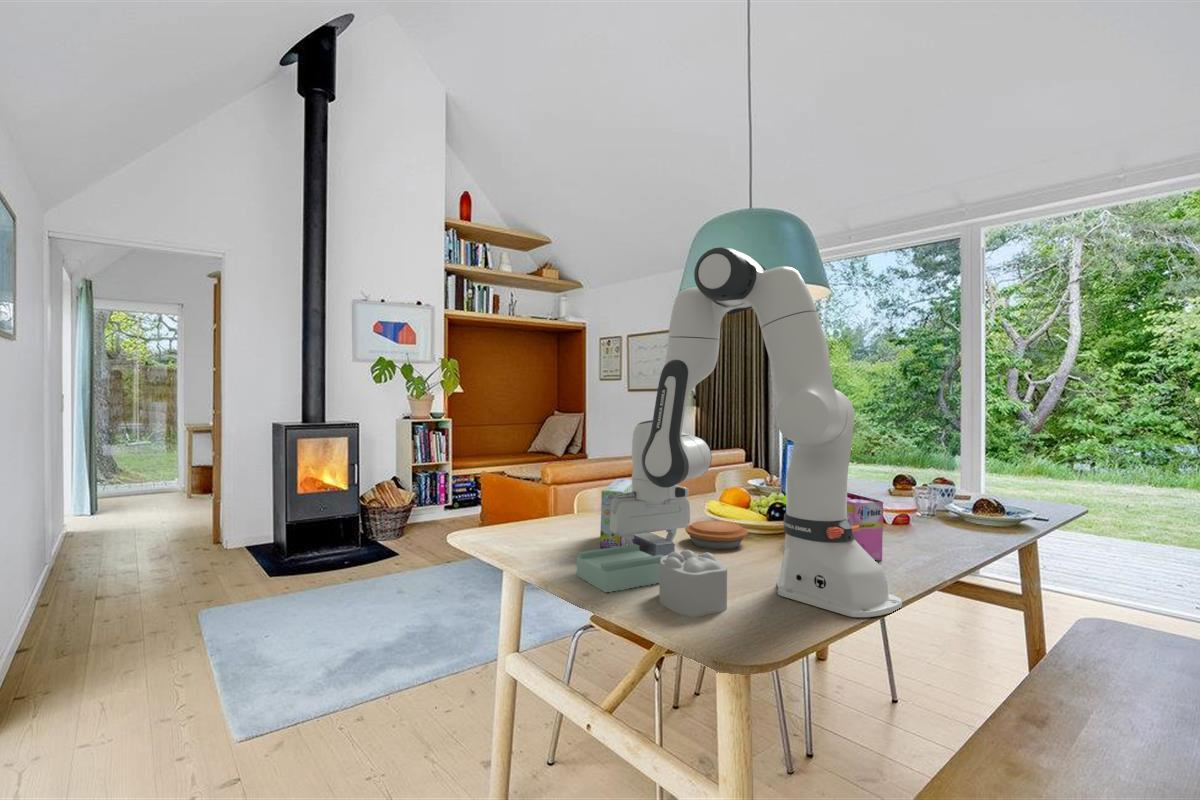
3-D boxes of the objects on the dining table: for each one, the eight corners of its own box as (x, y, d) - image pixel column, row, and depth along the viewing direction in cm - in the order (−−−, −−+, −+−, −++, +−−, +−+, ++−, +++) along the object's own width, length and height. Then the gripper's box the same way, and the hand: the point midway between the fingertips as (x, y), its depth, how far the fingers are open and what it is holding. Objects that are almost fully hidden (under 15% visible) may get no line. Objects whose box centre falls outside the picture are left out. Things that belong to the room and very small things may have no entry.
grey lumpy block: (685, 619, 100) (685, 567, 100) (646, 595, 111) (646, 549, 111) (735, 609, 104) (735, 560, 104) (692, 587, 116) (692, 543, 116)
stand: (666, 581, 119) (666, 557, 119) (606, 593, 112) (606, 566, 112) (634, 566, 129) (634, 543, 129) (576, 575, 122) (576, 551, 122)
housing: (674, 564, 132) (674, 541, 132) (655, 567, 130) (655, 544, 130) (645, 551, 143) (645, 530, 143) (627, 553, 140) (627, 532, 140)
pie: (674, 538, 155) (674, 519, 155) (727, 534, 159) (728, 516, 159) (702, 554, 140) (702, 533, 140) (760, 549, 145) (760, 529, 145)
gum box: (794, 537, 157) (794, 486, 156) (820, 536, 158) (821, 485, 158) (853, 563, 133) (854, 502, 133) (884, 560, 135) (884, 501, 135)
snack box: (622, 556, 137) (623, 491, 137) (598, 555, 139) (599, 490, 138) (635, 534, 158) (636, 478, 158) (614, 533, 159) (615, 477, 159)
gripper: (619, 496, 128) (618, 560, 128) (694, 489, 138) (693, 548, 138) (604, 491, 134) (604, 553, 134) (677, 485, 144) (677, 542, 144)
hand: (650, 550), depth 136 cm, fingers open, 8 cm apart
